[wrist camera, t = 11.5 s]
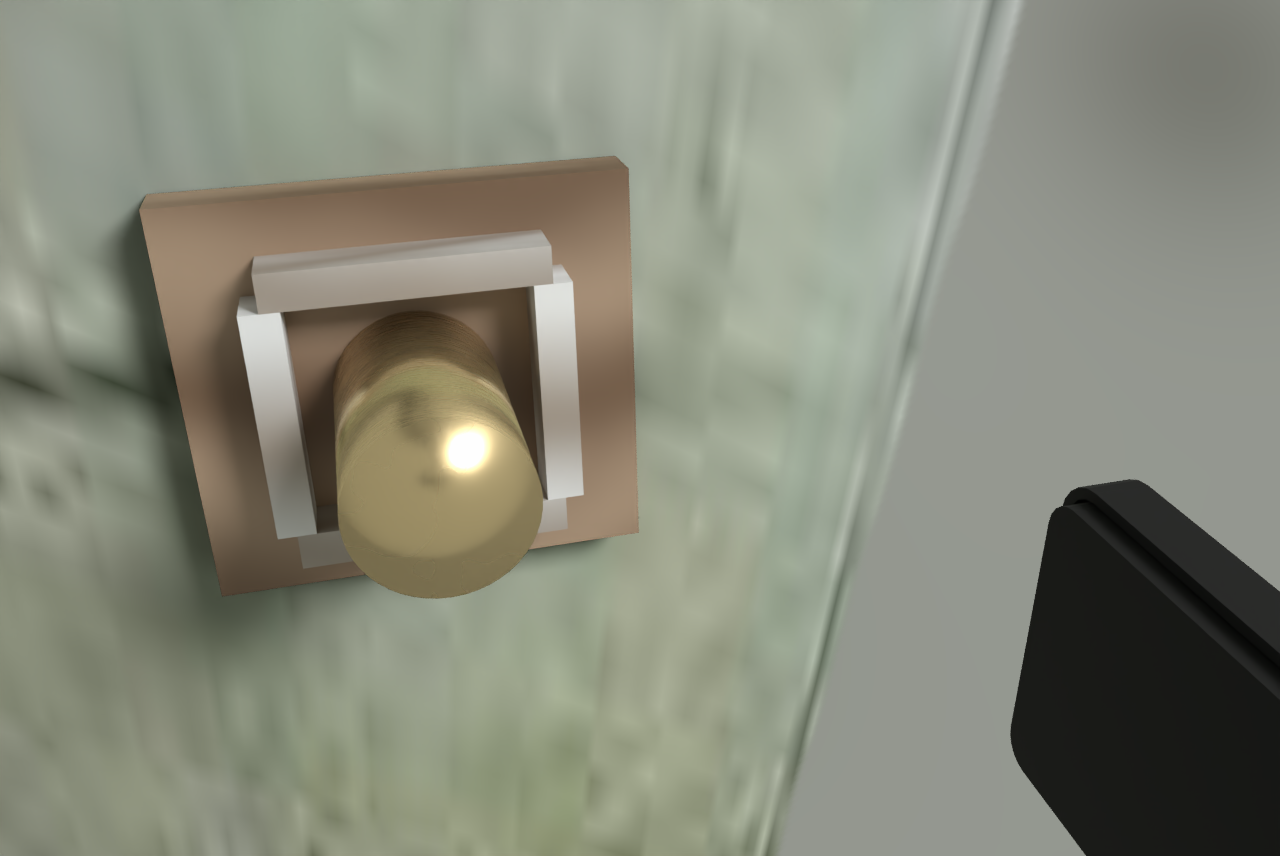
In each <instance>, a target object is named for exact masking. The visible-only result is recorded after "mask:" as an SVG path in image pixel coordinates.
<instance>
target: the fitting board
mask: <svg viewBox="0 0 1280 856" xmlns="http://www.w3.org/2000/svg"><path fill="white" fill-rule="evenodd" d="M139 212H140V216H141V221H142V226H143V230H144V235H145V240H146V244H147V249H148V254H149V258H150V263H151V268H152V272H153V277H154V281H155V286H156V291H157V295H158V300H159V305H160V309H161V314H162V319H163V323H164V328H165V333H166V337H167V342H168V347H169V351H170V356H171V361H172V365H173V370H174V375H175V379H176V384H177V389H178V393H179V398H180V403H181V407H182V412H183V417H184V421H185V426H186V431H187V435H188V440H189V445H190V449H191V454H192V459H193V463H194V468H195V473H196V477H197V482H198V487H199V491H200V496H201V501H202V505H203V510H204V515H205V519H206V524H207V528H208V533H209V538H210V542H211V547H212V552H213V556H214V561H215V566H216V570H217V575H218V580H219V584H220V589H221V594H222V596H229V595H235V594H242V593H248V592H255V591H261V590H268V589H274V588H281V587H287V586H294V585H300V584H307V583H313V582H320V581H326V580H333V579H340V578H346V577H353V576H359V575H366V574H365V573H364V572H363V571H362V570H361V569H360V568H359V567H358V566H357V565H356V563H355V562H354V561H353V560H352V558H351V557H350V555H349V553H348V552H347V550H346V548H345V545H344V543H343V540H342V538H341V534H340V529H339V523H338V505H337V479H336V452H335V426H334V400H333V381H334V374H335V370H336V366H337V364H338V361H339V359H340V357H341V355H342V353H343V351H344V349H345V348H346V347H347V345H348V344H349V343H350V341H351V340H352V339H353V338H354V337H355V336H356V335H357V334H358V333H359V332H360V331H361V330H363V329H364V328H365V327H367V326H368V325H370V324H371V323H373V322H375V321H376V320H378V319H381V318H383V317H385V316H388V315H391V314H395V313H398V312H405V311H416V310H422V311H432V312H437V313H442V314H445V315H448V316H450V317H453V318H455V319H457V320H459V321H461V322H463V323H464V324H466V325H467V326H469V327H470V328H471V329H473V330H474V331H475V332H476V333H477V334H478V335H479V336H480V337H481V338H482V339H483V341H484V342H485V343H486V345H487V346H488V348H489V349H490V351H491V353H492V355H493V357H494V359H495V362H496V365H497V367H498V370H499V373H500V375H501V378H502V381H503V383H504V386H505V389H506V391H507V394H508V397H509V399H510V402H511V405H512V407H513V410H514V413H515V415H516V418H517V421H518V423H519V426H520V429H521V431H522V434H523V437H524V439H525V442H526V444H527V447H528V450H529V452H530V455H531V458H532V460H533V463H534V466H535V468H536V471H537V474H538V477H539V480H540V483H541V487H542V494H543V512H542V519H541V523H540V526H539V530H538V533H537V535H536V537H535V539H534V541H533V543H532V545H531V546H530V548H529V549H535V548H541V547H548V546H554V545H561V544H567V543H574V542H580V541H587V540H593V539H600V538H606V537H613V536H619V535H626V534H632V533H639V527H638V491H637V455H636V419H635V383H634V347H633V312H632V276H631V240H630V204H629V168H628V167H626V166H625V165H624V164H623V163H622V162H621V161H620V160H619V159H618V158H617V157H616V156H609V157H597V158H585V159H573V160H561V161H548V162H536V163H524V164H512V165H499V166H487V167H475V168H463V169H451V170H438V171H426V172H414V173H402V174H390V175H377V176H365V177H353V178H341V179H329V180H316V181H304V182H292V183H280V184H268V185H255V186H243V187H231V188H219V189H206V190H194V191H182V192H170V193H158V194H147V195H146V197H145V199H144V201H143V203H142V205H141V207H140V209H139Z"/></svg>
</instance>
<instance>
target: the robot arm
mask: <svg viewBox="0 0 1280 856" xmlns="http://www.w3.org/2000/svg"><path fill="white" fill-rule="evenodd" d="M1011 744H1012V748H1013V752H1014V755H1015V757H1016V760H1017V762H1018V764H1019V766H1020V767H1021V769H1022V771H1023V772H1024V773H1025V775H1026V776H1027V777H1028V779H1029V780H1030V781H1031V783H1032V784H1033V785H1034V787H1035V788H1036V789H1037V791H1038V792H1039V793H1040V795H1041V796H1042V797H1043V799H1044V800H1045V801H1046V803H1047V804H1048V805H1049V807H1050V808H1051V809H1052V811H1053V812H1054V813H1055V815H1056V816H1057V817H1058V819H1059V820H1060V821H1061V823H1062V824H1063V825H1064V827H1065V828H1066V829H1067V831H1068V832H1069V833H1070V835H1071V836H1072V837H1073V839H1074V840H1075V841H1076V843H1077V844H1078V845H1079V847H1080V848H1081V850H1082V851H1083V852H1084V854H1085V855H1086V856H1280V591H1278V590H1277V589H1276V588H1275V587H1273V586H1272V585H1271V584H1270V583H1268V582H1267V581H1266V580H1265V579H1263V578H1262V577H1261V576H1260V575H1258V574H1257V573H1256V572H1255V571H1254V570H1252V569H1251V568H1250V567H1249V566H1247V565H1246V564H1245V563H1244V562H1242V561H1241V560H1240V559H1239V558H1237V557H1236V556H1235V555H1234V554H1232V553H1231V552H1230V551H1229V550H1227V549H1226V548H1225V547H1224V546H1222V545H1221V544H1220V543H1219V542H1217V541H1216V540H1215V539H1214V538H1212V537H1211V536H1210V535H1209V534H1208V533H1206V532H1205V531H1204V530H1203V529H1201V528H1200V527H1199V526H1198V525H1196V524H1195V523H1194V522H1193V521H1191V520H1190V519H1189V518H1188V517H1186V516H1185V515H1184V514H1183V513H1181V512H1180V511H1179V510H1178V509H1176V508H1175V507H1174V506H1173V505H1172V504H1170V503H1169V502H1168V501H1166V500H1165V499H1164V498H1163V497H1161V496H1160V495H1159V494H1158V493H1157V492H1155V491H1154V490H1153V489H1152V488H1150V487H1149V486H1148V485H1146V484H1144V483H1143V482H1141V481H1139V480H1130V479H1129V480H1123V481H1117V482H1110V483H1104V484H1098V485H1091V486H1085V487H1078V488H1076V489H1074V490H1072V491H1071V492H1070V493H1069V494H1068V496H1067V497H1066V498H1065V501H1064V504H1063V506H1061V507H1059V508H1056V509H1055V511H1054V512H1053V513H1052V515H1051V517H1050V520H1049V524H1048V529H1047V535H1046V540H1045V546H1044V551H1043V556H1042V562H1041V568H1040V573H1039V578H1038V583H1037V589H1036V594H1035V600H1034V605H1033V611H1032V616H1031V621H1030V626H1029V632H1028V637H1027V643H1026V648H1025V653H1024V659H1023V664H1022V670H1021V675H1020V680H1019V686H1018V691H1017V697H1016V702H1015V707H1014V713H1013V718H1012V724H1011Z"/></svg>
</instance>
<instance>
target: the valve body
mask: <svg viewBox="0 0 1280 856" xmlns="http://www.w3.org/2000/svg"><path fill="white" fill-rule="evenodd" d="M333 400H334V426H335V452H336V479H337V505H338V523H339V529H340V534H341V538H342V540H343V543H344V545H345V548H346V550H347V552H348V553H349V555H350V557H351V558H352V560H353V561H354V562H355V563H356V565H357V566H358V567H359V568H360V569H361V570H362V571H363V572H364V573H365V574H366V575H367V576H368V577H370V578H371V579H373V580H374V581H375V582H377V583H378V584H380V585H382V586H384V587H386V588H388V589H390V590H393V591H395V592H398V593H400V594H404V595H408V596H413V597H420V598H448V597H455V596H460V595H465V594H468V593H471V592H474V591H477V590H479V589H481V588H484V587H486V586H488V585H490V584H491V583H493V582H495V581H497V580H498V579H500V578H501V577H503V576H504V575H505V574H506V573H508V572H509V571H510V570H511V569H512V568H513V567H514V566H515V565H517V564H518V563H519V561H520V560H521V559H522V558H523V557H524V555H525V554H526V553H527V551H528V550H529V548H530V546H531V545H532V543H533V541H534V539H535V537H536V535H537V533H538V530H539V526H540V523H541V519H542V512H543V494H542V487H541V483H540V480H539V477H538V474H537V471H536V468H535V466H534V463H533V460H532V458H531V455H530V452H529V450H528V447H527V444H526V442H525V439H524V437H523V434H522V431H521V429H520V426H519V423H518V421H517V418H516V415H515V413H514V410H513V407H512V405H511V402H510V399H509V397H508V394H507V391H506V389H505V386H504V383H503V381H502V378H501V375H500V373H499V370H498V367H497V365H496V362H495V359H494V357H493V355H492V353H491V351H490V349H489V348H488V346H487V345H486V343H485V342H484V341H483V339H482V338H481V337H480V336H479V335H478V334H477V333H476V332H475V331H474V330H473V329H471V328H470V327H469V326H467V325H466V324H464V323H463V322H461V321H459V320H457V319H455V318H453V317H450V316H448V315H445V314H442V313H437V312H432V311H422V310H416V311H405V312H398V313H395V314H391V315H388V316H385V317H383V318H381V319H378V320H376V321H375V322H373V323H371V324H370V325H368V326H367V327H365V328H364V329H363V330H361V331H360V332H359V333H358V334H357V335H356V336H355V337H354V338H353V339H352V340H351V341H350V343H349V344H348V345H347V347H346V348H345V349H344V351H343V353H342V355H341V357H340V359H339V361H338V364H337V366H336V370H335V374H334V381H333Z"/></svg>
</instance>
